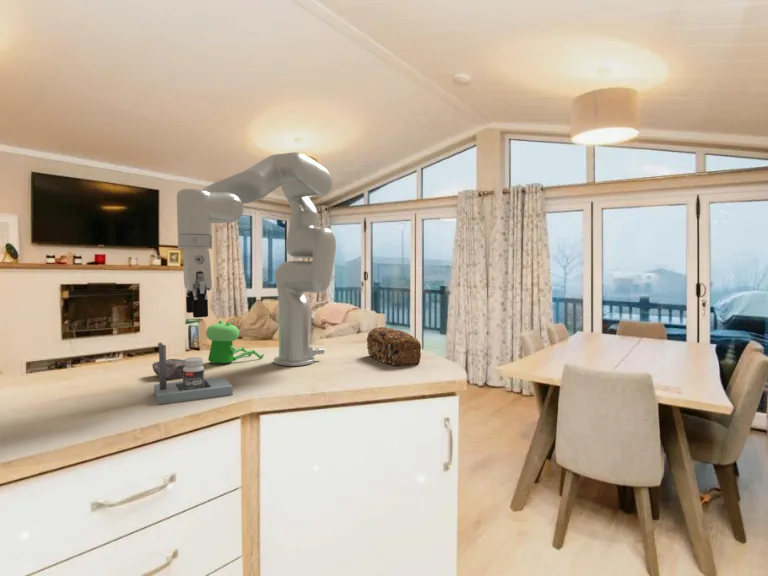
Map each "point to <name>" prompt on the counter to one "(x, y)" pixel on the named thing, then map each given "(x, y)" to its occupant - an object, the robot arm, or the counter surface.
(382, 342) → the bread
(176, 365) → the rock
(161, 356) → the gray slotted post stand
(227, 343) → the toy character
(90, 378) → the counter surface
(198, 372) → the pill bottle
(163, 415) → the counter surface
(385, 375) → the counter surface
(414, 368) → the counter surface
